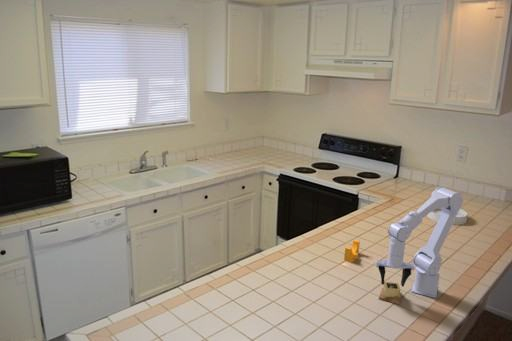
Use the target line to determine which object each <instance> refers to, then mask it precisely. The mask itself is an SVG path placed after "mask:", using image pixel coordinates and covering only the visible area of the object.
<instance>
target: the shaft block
mask: <svg viewBox="0 0 512 341" xmlns="http://www.w3.org/2000/svg"><path fill="white" fill-rule="evenodd" d="M389 288H394V287H393V286H390V287H389ZM378 295H379V296H378V300H381V301H384V302H387V303H392V304H396V305H400V303H401V301H402V298H403V292H401V291H400V298H399V299H393V298H385V296H384V292H383V287H382V288H381V291H380V293H379V294H378Z"/></svg>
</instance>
